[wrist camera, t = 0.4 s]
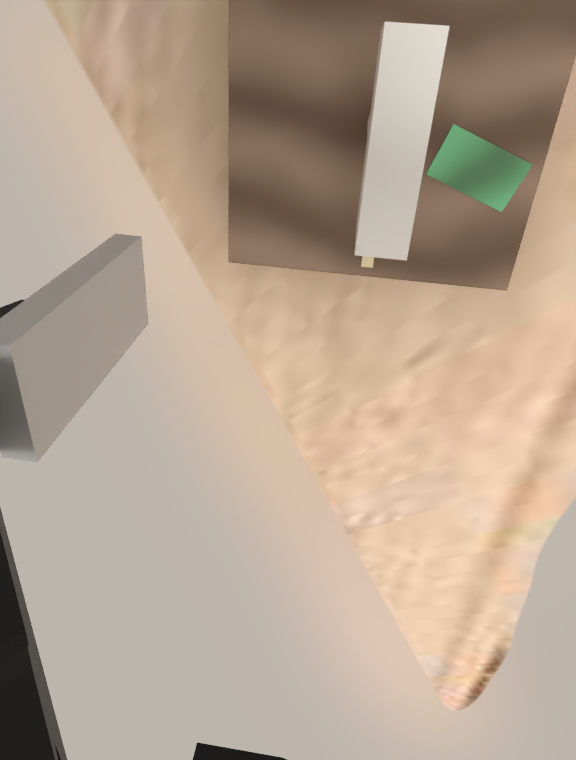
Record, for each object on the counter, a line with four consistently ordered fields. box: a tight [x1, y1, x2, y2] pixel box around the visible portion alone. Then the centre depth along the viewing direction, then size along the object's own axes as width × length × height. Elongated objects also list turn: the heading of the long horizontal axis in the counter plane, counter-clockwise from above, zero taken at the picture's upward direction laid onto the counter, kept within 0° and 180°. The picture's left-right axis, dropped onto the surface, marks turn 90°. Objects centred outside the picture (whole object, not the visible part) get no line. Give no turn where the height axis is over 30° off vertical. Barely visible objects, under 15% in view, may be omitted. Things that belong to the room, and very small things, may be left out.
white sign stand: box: [355, 22, 450, 268], centre depth 29 cm, size 14×2×12 cm, turn 176°
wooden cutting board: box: [229, 0, 576, 290], centre depth 34 cm, size 20×20×2 cm
